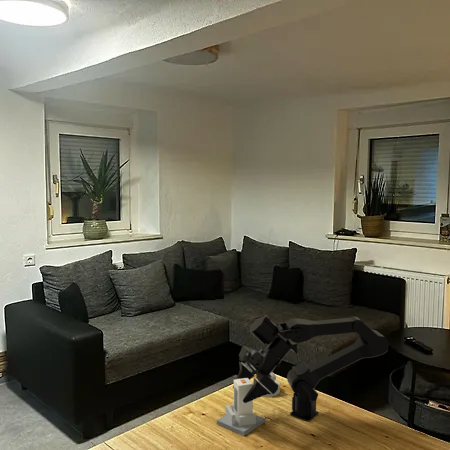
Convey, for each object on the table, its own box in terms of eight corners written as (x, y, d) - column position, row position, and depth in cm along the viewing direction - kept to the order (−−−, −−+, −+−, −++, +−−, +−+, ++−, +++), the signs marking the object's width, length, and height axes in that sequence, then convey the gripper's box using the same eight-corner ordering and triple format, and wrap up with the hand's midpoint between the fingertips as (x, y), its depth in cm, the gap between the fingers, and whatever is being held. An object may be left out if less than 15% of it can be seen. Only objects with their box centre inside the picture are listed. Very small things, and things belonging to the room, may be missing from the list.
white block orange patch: (247, 413, 139) (247, 377, 138) (252, 420, 135) (252, 383, 134) (233, 415, 138) (233, 378, 137) (237, 422, 133) (237, 385, 132)
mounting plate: (265, 421, 136) (265, 408, 136) (243, 436, 128) (243, 421, 128) (238, 410, 143) (238, 397, 142) (216, 423, 135) (216, 410, 135)
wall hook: (259, 356, 163) (284, 362, 157) (259, 382, 164) (284, 389, 158) (245, 363, 156) (271, 370, 150) (245, 390, 157) (271, 399, 151)
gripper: (245, 328, 144) (211, 366, 142) (268, 348, 126) (229, 392, 124) (268, 349, 147) (235, 388, 145) (294, 372, 129) (257, 416, 127)
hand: (238, 395), depth 135 cm, fingers open, 9 cm apart
